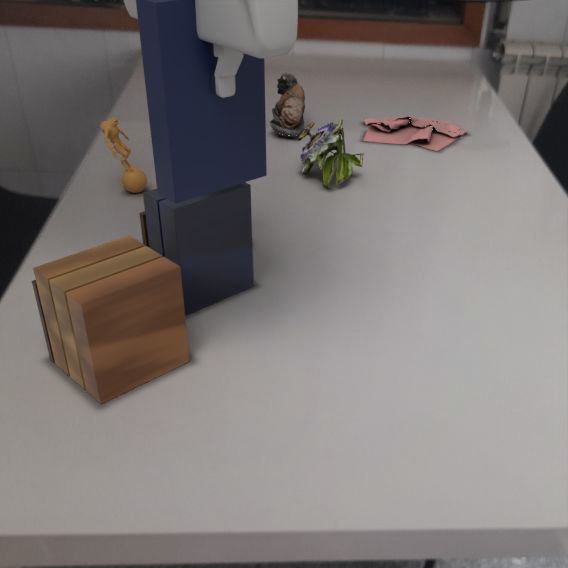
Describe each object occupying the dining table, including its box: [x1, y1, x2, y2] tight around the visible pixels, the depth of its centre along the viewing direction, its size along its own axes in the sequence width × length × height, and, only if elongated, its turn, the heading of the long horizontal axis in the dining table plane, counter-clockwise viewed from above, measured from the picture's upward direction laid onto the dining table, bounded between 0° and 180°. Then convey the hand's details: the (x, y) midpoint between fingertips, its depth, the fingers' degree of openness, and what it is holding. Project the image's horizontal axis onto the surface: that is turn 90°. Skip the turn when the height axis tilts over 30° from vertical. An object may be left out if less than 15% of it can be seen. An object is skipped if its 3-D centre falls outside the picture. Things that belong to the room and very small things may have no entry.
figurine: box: [99, 116, 148, 194], centre depth 113 cm, size 8×6×12 cm
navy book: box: [136, 0, 268, 204], centre depth 65 cm, size 3×11×17 cm, turn 136°
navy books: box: [138, 182, 255, 317], centre depth 89 cm, size 7×11×14 cm
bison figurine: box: [269, 71, 306, 138], centre depth 141 cm, size 12×7×10 cm, turn 5°
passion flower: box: [297, 118, 365, 190], centre depth 124 cm, size 11×11×12 cm
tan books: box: [31, 235, 190, 405], centre depth 76 cm, size 10×11×12 cm
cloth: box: [363, 115, 468, 152], centre depth 146 cm, size 20×22×2 cm
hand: (208, 89), depth 65 cm, fingers closed on navy book, 3 cm apart
